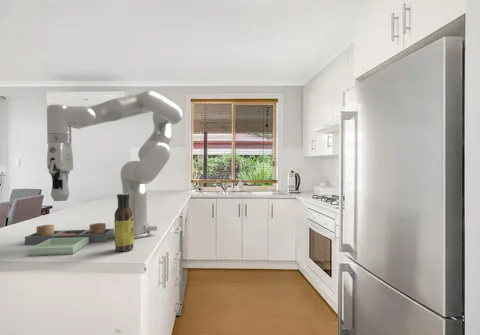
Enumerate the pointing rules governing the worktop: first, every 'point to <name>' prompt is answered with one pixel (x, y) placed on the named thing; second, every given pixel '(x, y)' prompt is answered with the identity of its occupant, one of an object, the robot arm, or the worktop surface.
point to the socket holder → (70, 236)
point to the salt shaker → (61, 194)
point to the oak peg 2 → (98, 228)
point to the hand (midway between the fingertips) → (60, 190)
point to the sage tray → (59, 246)
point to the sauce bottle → (123, 224)
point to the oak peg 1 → (45, 230)
